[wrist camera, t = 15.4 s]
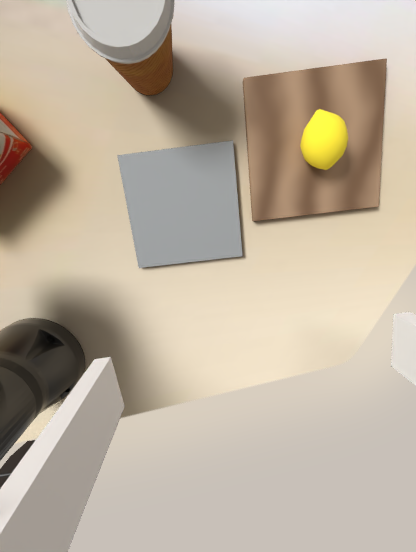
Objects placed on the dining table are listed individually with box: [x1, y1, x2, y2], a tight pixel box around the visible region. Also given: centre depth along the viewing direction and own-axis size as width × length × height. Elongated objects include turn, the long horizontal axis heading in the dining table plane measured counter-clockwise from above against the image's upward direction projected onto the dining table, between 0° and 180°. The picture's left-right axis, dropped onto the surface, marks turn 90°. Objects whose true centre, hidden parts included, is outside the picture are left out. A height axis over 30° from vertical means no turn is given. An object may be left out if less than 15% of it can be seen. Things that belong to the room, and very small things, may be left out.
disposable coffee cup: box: [66, 0, 174, 95], centre depth 26 cm, size 10×10×12 cm
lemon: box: [300, 109, 348, 170], centre depth 31 cm, size 7×5×5 cm
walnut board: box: [243, 59, 387, 221], centre depth 34 cm, size 18×18×1 cm
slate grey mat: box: [117, 141, 242, 268], centre depth 36 cm, size 16×16×1 cm
